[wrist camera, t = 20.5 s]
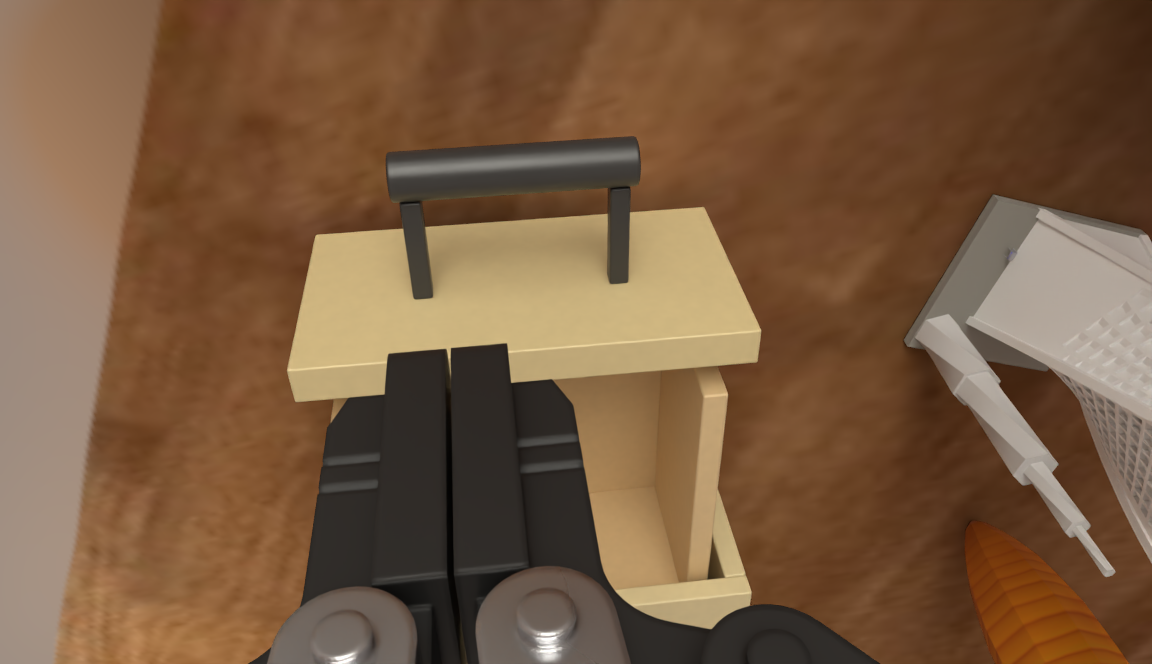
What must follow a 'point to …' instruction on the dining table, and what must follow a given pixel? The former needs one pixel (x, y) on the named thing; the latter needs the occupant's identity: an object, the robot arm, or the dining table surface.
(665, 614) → the cabinet
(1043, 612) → the carrot
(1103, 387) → the skyscraper
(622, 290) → the drawer
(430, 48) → the dining table surface
